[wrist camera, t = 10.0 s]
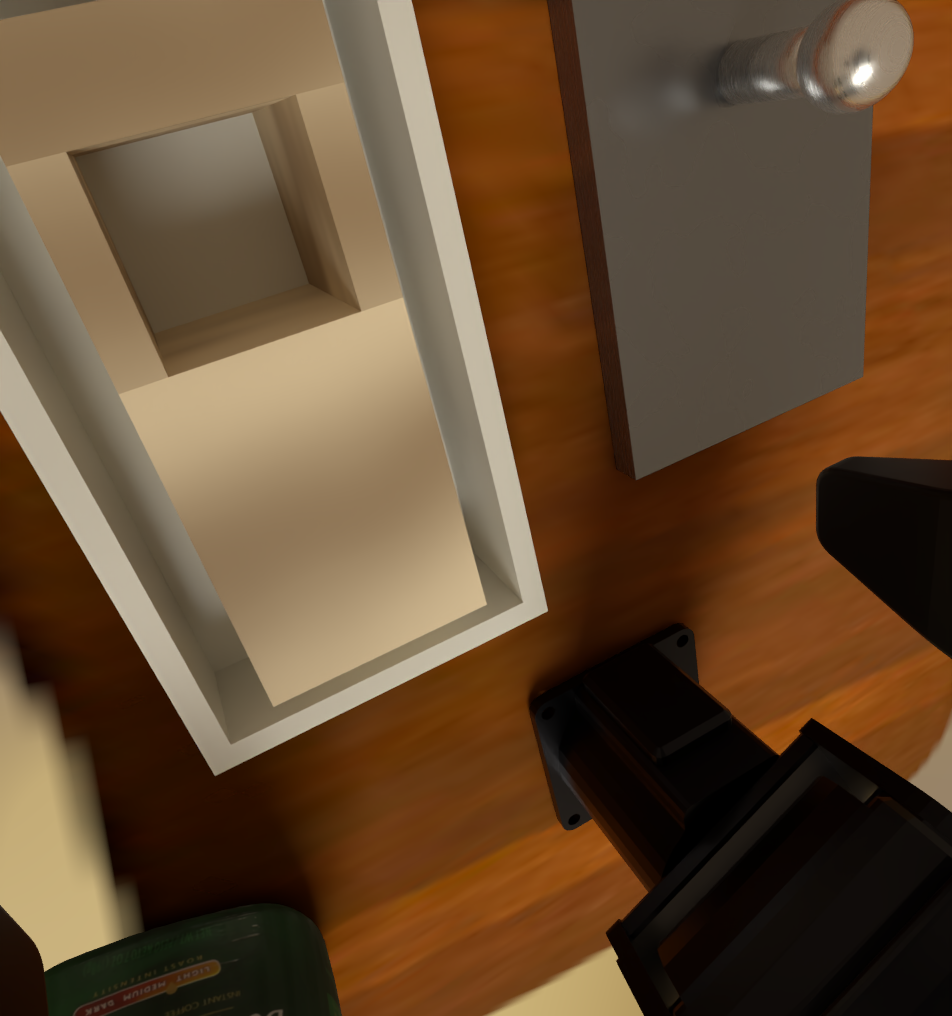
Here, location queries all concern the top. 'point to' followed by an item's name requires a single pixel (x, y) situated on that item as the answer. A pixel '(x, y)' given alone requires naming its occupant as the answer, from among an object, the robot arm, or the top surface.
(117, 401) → the tray
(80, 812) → the top surface
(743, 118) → the stud base
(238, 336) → the beige rectangular block
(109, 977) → the coffee jar
